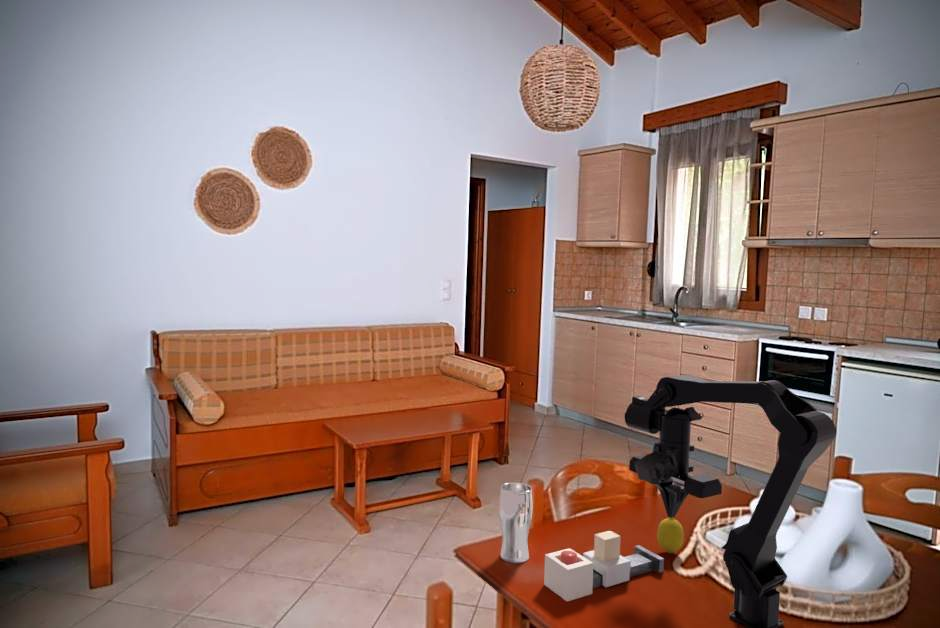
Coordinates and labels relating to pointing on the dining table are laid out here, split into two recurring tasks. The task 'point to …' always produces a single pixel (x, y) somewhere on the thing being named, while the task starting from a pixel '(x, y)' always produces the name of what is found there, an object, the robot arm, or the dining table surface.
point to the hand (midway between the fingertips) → (671, 517)
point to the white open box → (568, 576)
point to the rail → (637, 564)
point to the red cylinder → (568, 557)
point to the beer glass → (515, 520)
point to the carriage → (609, 559)
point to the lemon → (670, 535)
